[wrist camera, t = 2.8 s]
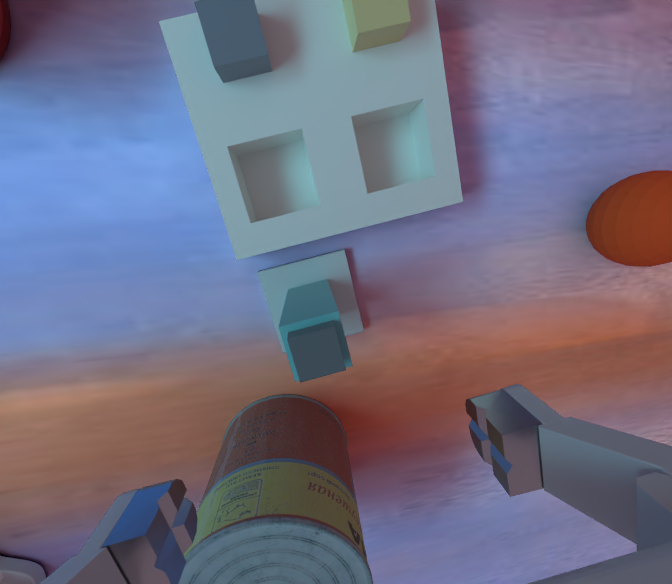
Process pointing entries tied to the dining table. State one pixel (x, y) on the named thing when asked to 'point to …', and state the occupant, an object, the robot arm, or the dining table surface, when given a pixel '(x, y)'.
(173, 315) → the dining table surface
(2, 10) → the canned food
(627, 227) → the clementine
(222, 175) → the block
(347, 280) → the mat
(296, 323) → the plug
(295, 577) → the canned food
